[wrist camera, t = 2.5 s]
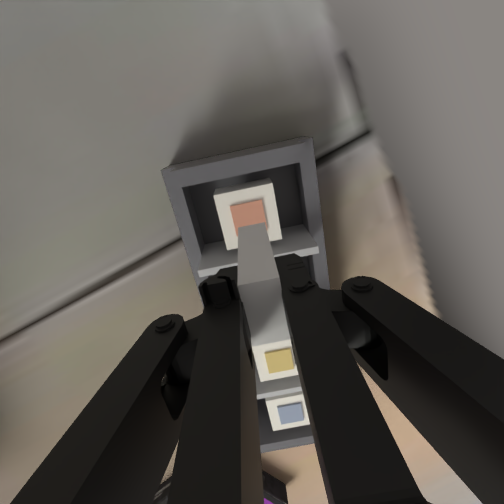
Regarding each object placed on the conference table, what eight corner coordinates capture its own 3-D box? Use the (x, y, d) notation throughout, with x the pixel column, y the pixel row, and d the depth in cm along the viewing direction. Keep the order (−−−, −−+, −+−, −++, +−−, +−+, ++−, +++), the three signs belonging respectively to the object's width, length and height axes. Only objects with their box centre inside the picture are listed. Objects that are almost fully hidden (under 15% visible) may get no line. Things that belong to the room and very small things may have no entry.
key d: (258, 363, 31) (260, 383, 29) (250, 329, 30) (251, 347, 27) (300, 355, 31) (306, 374, 29) (294, 320, 30) (299, 338, 27)
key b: (270, 410, 34) (273, 432, 32) (263, 381, 32) (265, 402, 30) (309, 403, 34) (314, 425, 31) (303, 374, 32) (309, 394, 30)
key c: (228, 239, 26) (227, 251, 24) (215, 189, 24) (212, 196, 22) (278, 228, 26) (282, 239, 23) (269, 177, 24) (272, 183, 22)
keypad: (241, 408, 38) (242, 456, 32) (168, 165, 26) (150, 176, 21) (336, 390, 37) (353, 436, 32) (304, 136, 26) (322, 138, 20)
